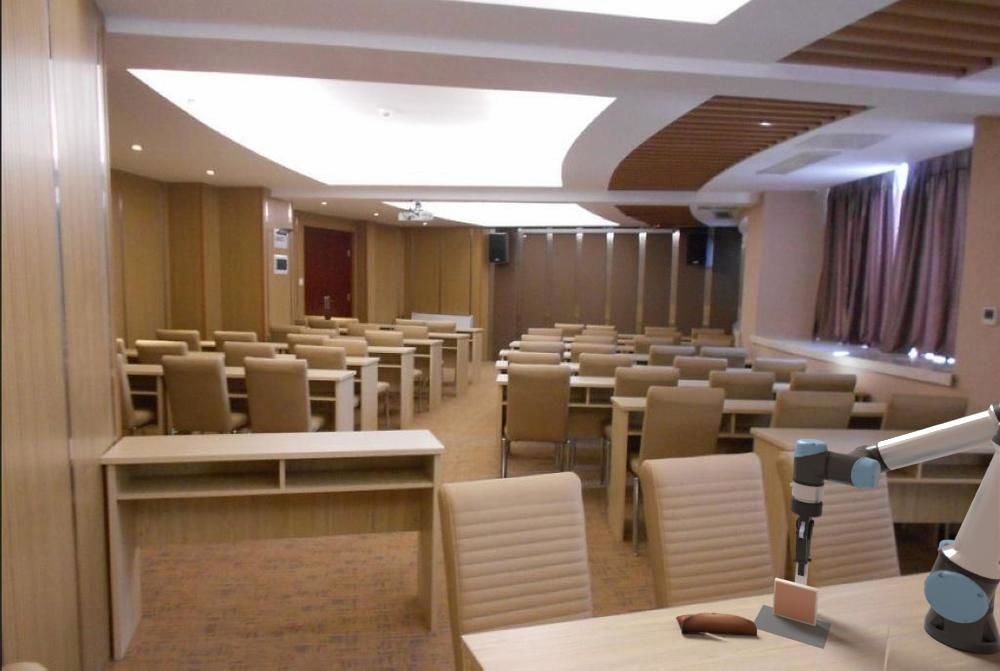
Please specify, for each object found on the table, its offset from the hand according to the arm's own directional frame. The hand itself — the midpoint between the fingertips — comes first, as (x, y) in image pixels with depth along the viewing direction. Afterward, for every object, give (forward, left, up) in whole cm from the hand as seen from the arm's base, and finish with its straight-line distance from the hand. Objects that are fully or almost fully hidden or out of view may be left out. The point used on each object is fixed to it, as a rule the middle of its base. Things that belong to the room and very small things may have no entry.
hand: (800, 585), depth 169 cm
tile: (0, +9, -5) cm, 10 cm away
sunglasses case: (+15, +25, -7) cm, 30 cm away
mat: (0, +13, -6) cm, 14 cm away
